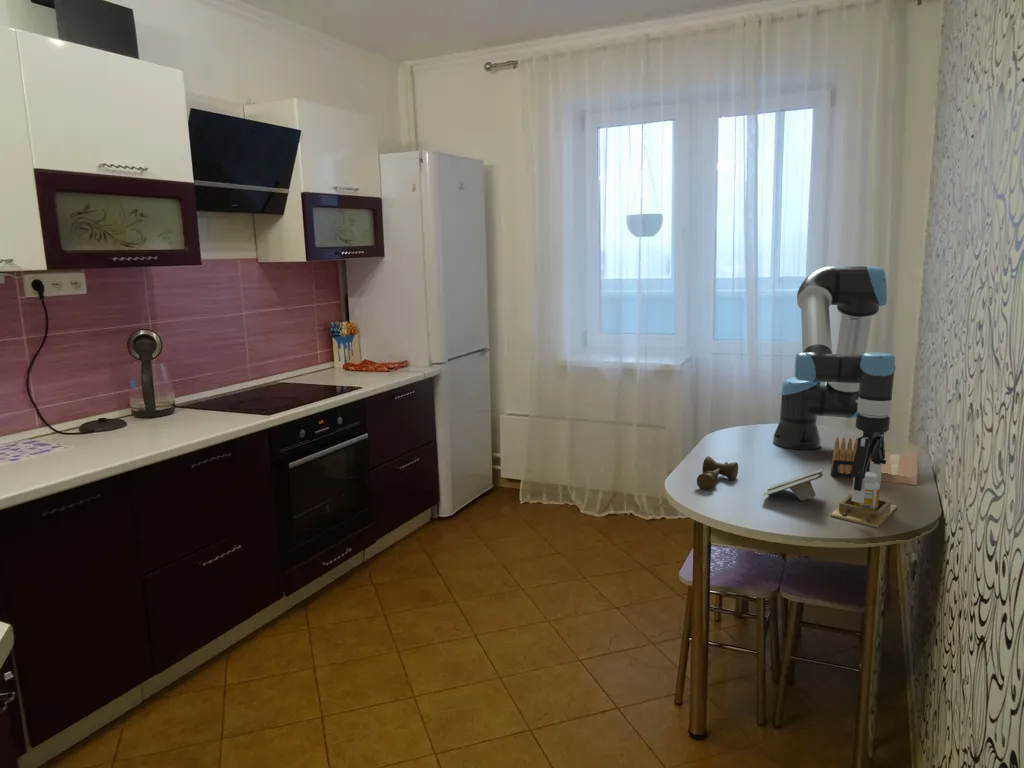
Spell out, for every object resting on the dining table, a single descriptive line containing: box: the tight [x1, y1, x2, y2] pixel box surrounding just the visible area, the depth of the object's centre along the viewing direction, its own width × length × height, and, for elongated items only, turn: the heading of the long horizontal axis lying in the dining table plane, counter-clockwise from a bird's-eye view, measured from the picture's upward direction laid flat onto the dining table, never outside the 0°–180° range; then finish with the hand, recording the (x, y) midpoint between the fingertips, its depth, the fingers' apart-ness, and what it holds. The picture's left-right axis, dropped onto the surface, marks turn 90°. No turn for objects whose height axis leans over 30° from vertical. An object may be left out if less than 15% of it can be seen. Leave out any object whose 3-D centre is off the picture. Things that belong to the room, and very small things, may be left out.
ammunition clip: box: [830, 436, 872, 479], centre depth 205 cm, size 11×2×12 cm, turn 74°
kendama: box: [696, 455, 739, 492], centre depth 204 cm, size 6×10×20 cm
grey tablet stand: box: [761, 468, 824, 501], centre depth 188 cm, size 16×9×15 cm
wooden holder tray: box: [830, 492, 898, 528], centre depth 179 cm, size 17×11×3 cm, turn 137°
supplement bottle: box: [854, 472, 881, 511], centre depth 178 cm, size 5×5×10 cm
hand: (865, 494), depth 179 cm, fingers open, 13 cm apart
